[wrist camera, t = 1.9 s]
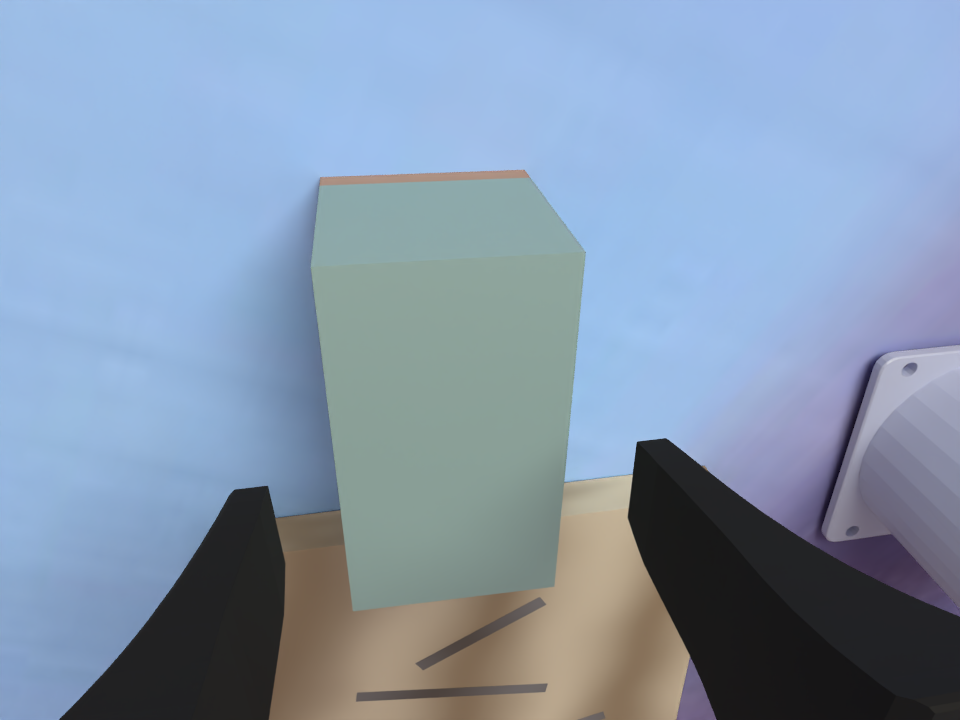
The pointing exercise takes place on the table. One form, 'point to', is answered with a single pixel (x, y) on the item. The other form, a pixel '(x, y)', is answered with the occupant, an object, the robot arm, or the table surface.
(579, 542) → the birch board
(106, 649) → the table surface
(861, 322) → the table surface
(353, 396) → the block
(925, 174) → the table surface
